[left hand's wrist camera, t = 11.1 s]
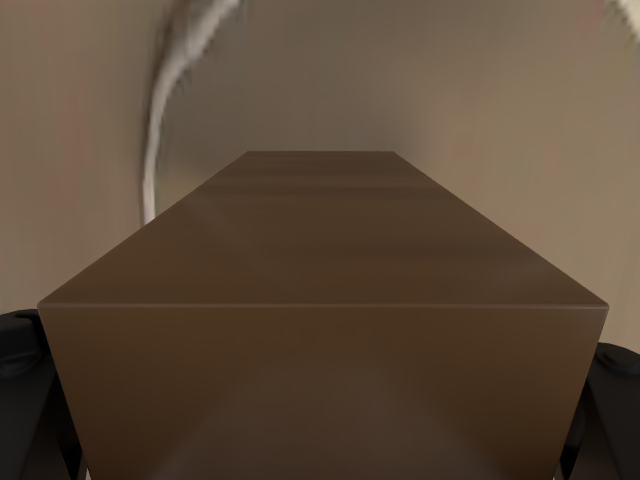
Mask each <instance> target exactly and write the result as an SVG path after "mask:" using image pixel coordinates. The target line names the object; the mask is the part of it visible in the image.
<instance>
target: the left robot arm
mask: <svg viewBox="0 0 640 480" xmlns="http://www.w3.org/2000/svg"><path fill="white" fill-rule="evenodd" d="M86 473H87V464H86V461H85V458H84V455H83V452H82V449H81V445H80V442H79V439H78V436H77V433H76V430H75V426H74V423H73V420H72V417H71V414H70V411H69V407H68V404H67V401H66V398H65V395H64V392H63V388H62V385H61V382H60V379H59V376H58V373H57V369H56V366H55V363H54V360H53V357H52V354H51V350H50V347H49V344H48V341H47V338H46V335H45V331H44V328H43V325H42V322H41V319H40V316H39V312H38V309H27V310H18V311H14V312H10V313H6V314H2V315H0V480H85V479H86ZM554 478H555V480H640V354H637V353H635V352H633V351H631V350H629V349H626V348H623V347H620V346H617V345H613V344H609V343H601V342H598V344H597V347H596V350H595V353H594V356H593V359H592V362H591V365H590V368H589V371H588V374H587V377H586V380H585V383H584V386H583V389H582V392H581V395H580V398H579V402H578V405H577V408H576V411H575V414H574V417H573V420H572V423H571V426H570V429H569V432H568V435H567V438H566V441H565V444H564V447H563V450H562V453H561V456H560V459H559V462H558V465H557V468H556V471H555V474H554Z"/></svg>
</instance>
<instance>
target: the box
mask: <svg viewBox="0 0 640 480" xmlns="http://www.w3.org/2000/svg"><path fill="white" fill-rule="evenodd" d="M37 309H38V312H39V316H40V319H41V322H42V325H43V328H44V331H45V335H46V338H47V341H48V344H49V347H50V350H51V354H52V357H53V360H54V363H55V366H56V369H57V373H58V376H59V379H60V382H61V385H62V388H63V392H64V395H65V398H66V401H67V404H68V407H69V411H70V414H71V417H72V420H73V423H74V426H75V430H76V433H77V436H78V439H79V442H80V445H81V449H82V452H83V455H84V458H85V461H86V464H87V468H88V471H89V474H90V477H91V480H553V477H554V474H555V471H556V468H557V465H558V462H559V459H560V456H561V453H562V450H563V447H564V444H565V441H566V438H567V435H568V432H569V429H570V426H571V423H572V420H573V417H574V414H575V411H576V408H577V405H578V402H579V398H580V395H581V392H582V389H583V386H584V383H585V380H586V377H587V374H588V371H589V368H590V365H591V362H592V359H593V356H594V353H595V350H596V347H597V344H598V341H599V338H600V335H601V332H602V329H603V326H604V323H605V319H606V316H607V313H608V310H609V305H608V303H606V302H605V301H603V300H602V299H601V298H599V297H598V296H596V295H595V294H594V293H592V292H591V291H589V290H588V289H586V288H585V287H584V286H582V285H581V284H579V283H578V282H577V281H575V280H574V279H572V278H571V277H570V276H568V275H567V274H565V273H564V272H562V271H561V270H560V269H558V268H557V267H555V266H554V265H553V264H551V263H550V262H548V261H547V260H546V259H544V258H543V257H541V256H540V255H538V254H537V253H536V252H534V251H533V250H531V249H530V248H529V247H527V246H526V245H524V244H523V243H522V242H520V241H519V240H517V239H516V238H514V237H513V236H512V235H510V234H509V233H507V232H506V231H505V230H503V229H502V228H500V227H499V226H497V225H496V224H495V223H493V222H492V221H490V220H489V219H488V218H486V217H485V216H483V215H482V214H481V213H479V212H478V211H476V210H475V209H473V208H472V207H471V206H469V205H468V204H466V203H465V202H464V201H462V200H461V199H459V198H458V197H457V196H455V195H454V194H452V193H451V192H449V191H448V190H447V189H445V188H444V187H442V186H441V185H440V184H438V183H437V182H435V181H434V180H432V179H431V178H430V177H428V176H427V175H425V174H424V173H423V172H421V171H420V170H418V169H417V168H416V167H414V166H413V165H411V164H410V163H408V162H407V161H406V160H404V159H403V158H401V157H400V156H399V155H397V154H396V153H394V152H380V151H248V152H246V153H245V154H243V155H242V156H241V157H239V158H238V159H236V160H235V161H234V162H232V163H231V164H229V165H228V166H227V167H225V168H224V169H223V170H221V171H220V172H218V173H217V174H216V175H214V176H213V177H212V178H210V179H209V180H207V181H206V182H205V183H203V184H202V185H200V186H199V187H198V188H196V189H195V190H194V191H192V192H191V193H189V194H188V195H187V196H185V197H184V198H182V199H181V200H180V201H178V202H177V203H176V204H174V205H173V206H171V207H170V208H169V209H167V210H166V211H164V212H163V213H162V214H160V215H159V216H158V217H156V218H155V219H153V220H152V221H151V222H149V223H148V224H146V225H145V226H144V227H142V228H141V229H140V230H138V231H137V232H135V233H134V234H133V235H131V236H130V237H128V238H127V239H126V240H124V241H123V242H122V243H120V244H119V245H117V246H116V247H115V248H113V249H112V250H111V251H109V252H108V253H106V254H105V255H104V256H102V257H101V258H99V259H98V260H97V261H95V262H94V263H93V264H91V265H90V266H88V267H87V268H86V269H84V270H83V271H81V272H80V273H79V274H77V275H76V276H75V277H73V278H72V279H70V280H69V281H68V282H66V283H65V284H63V285H62V286H61V287H59V288H58V289H57V290H55V291H54V292H52V293H51V294H50V295H48V296H47V297H45V298H44V299H43V300H41V301H40V302H39V303H38V304H37Z"/></svg>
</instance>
